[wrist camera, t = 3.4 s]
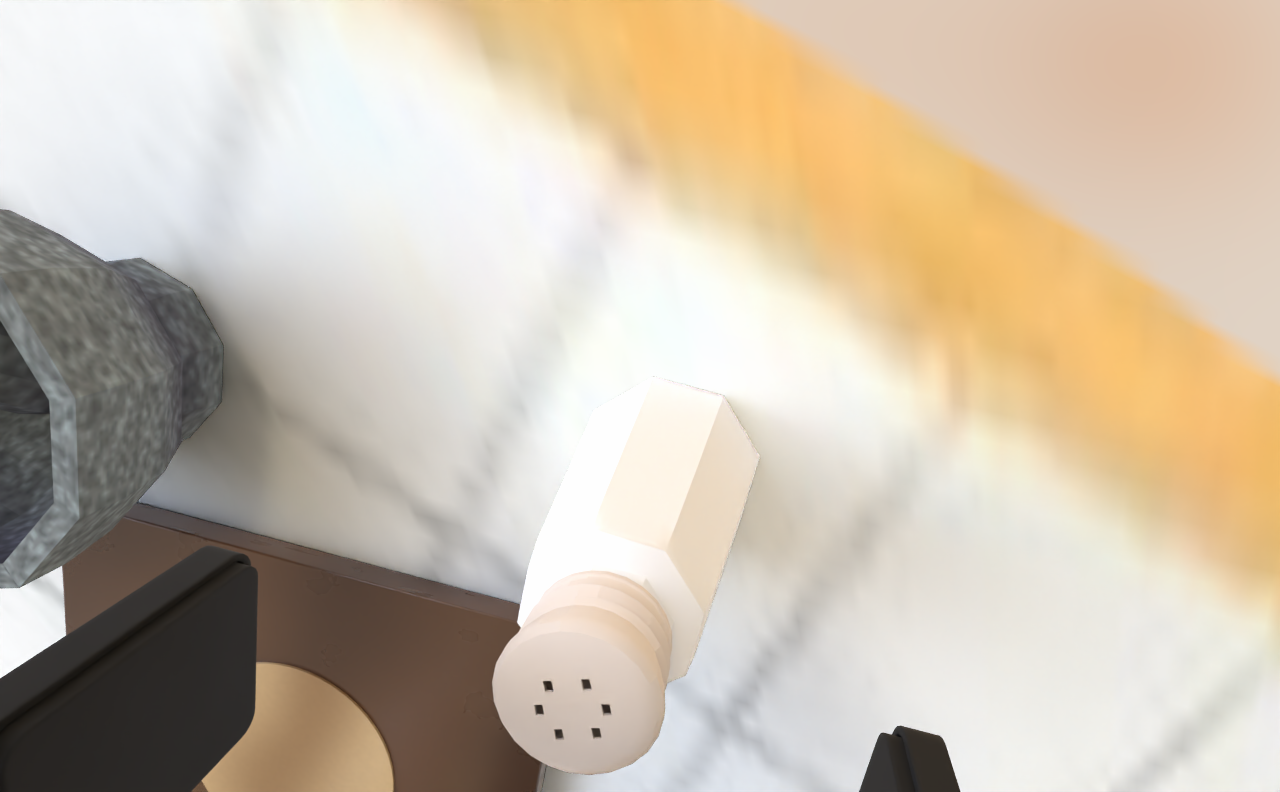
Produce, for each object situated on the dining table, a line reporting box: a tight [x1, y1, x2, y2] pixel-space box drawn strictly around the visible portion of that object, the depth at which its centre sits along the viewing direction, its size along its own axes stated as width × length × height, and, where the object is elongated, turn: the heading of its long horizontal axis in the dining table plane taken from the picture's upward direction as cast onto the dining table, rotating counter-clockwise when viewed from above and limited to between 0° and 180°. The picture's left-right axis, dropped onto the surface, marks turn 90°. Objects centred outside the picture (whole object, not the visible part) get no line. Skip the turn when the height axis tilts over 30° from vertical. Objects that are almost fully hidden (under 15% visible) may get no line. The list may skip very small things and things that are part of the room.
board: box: [62, 502, 546, 792], centre depth 27 cm, size 18×16×1 cm
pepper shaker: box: [492, 376, 760, 775], centre depth 17 cm, size 5×5×11 cm
